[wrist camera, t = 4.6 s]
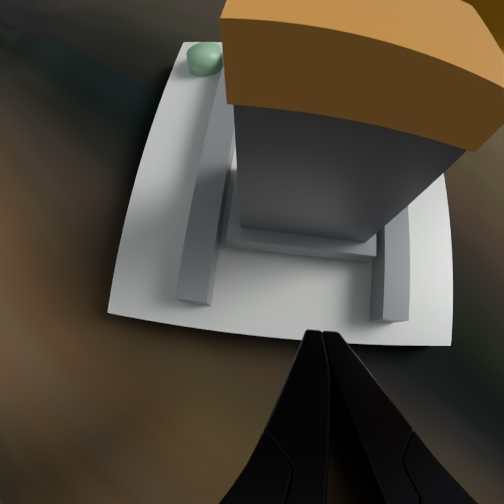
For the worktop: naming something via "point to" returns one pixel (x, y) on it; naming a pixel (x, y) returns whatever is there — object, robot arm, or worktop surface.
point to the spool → (491, 17)
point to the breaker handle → (349, 114)
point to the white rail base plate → (261, 262)
